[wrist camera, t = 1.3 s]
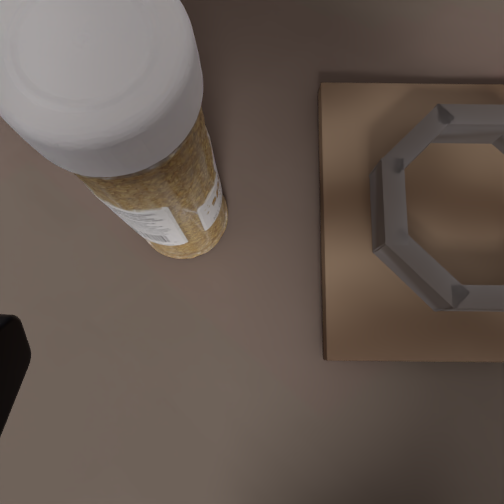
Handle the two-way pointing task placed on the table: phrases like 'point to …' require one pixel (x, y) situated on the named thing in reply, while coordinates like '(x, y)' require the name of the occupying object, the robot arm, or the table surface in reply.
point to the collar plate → (412, 221)
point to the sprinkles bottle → (118, 110)
